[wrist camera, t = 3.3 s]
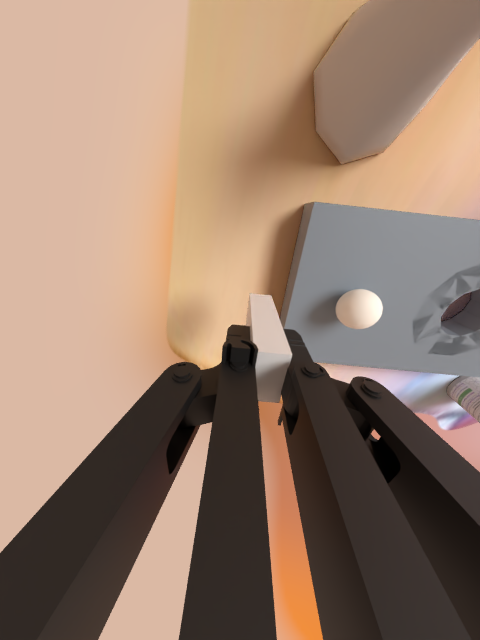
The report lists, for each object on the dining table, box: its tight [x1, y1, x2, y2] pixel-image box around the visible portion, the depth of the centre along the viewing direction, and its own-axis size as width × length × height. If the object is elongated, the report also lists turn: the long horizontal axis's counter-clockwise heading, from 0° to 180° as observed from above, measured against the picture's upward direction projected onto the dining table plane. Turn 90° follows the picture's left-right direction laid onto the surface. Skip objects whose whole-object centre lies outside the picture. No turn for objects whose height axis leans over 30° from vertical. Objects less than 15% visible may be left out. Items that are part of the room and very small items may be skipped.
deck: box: [280, 202, 480, 377], centre depth 18 cm, size 14×22×2 cm, turn 85°
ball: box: [336, 289, 383, 329], centre depth 15 cm, size 3×3×3 cm
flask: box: [314, 0, 480, 164], centre depth 8 cm, size 7×7×10 cm
